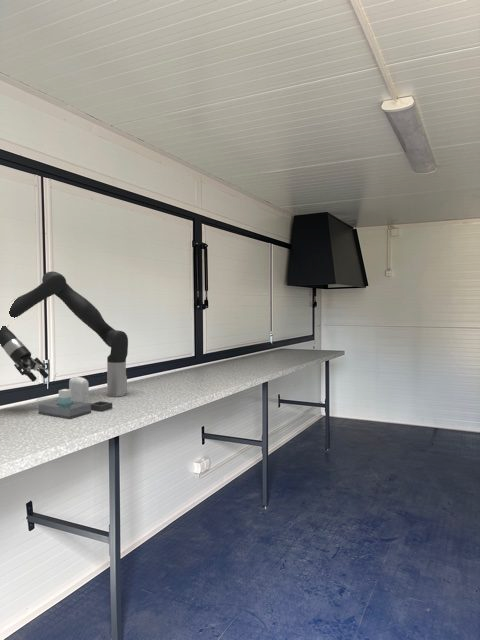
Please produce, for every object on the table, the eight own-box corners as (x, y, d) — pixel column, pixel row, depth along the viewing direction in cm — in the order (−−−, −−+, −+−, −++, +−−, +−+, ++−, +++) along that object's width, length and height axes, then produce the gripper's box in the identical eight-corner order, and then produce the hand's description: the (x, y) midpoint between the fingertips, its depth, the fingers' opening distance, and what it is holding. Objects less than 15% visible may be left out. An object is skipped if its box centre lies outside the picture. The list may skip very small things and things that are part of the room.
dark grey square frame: (100, 406, 209) (100, 401, 208) (112, 408, 206) (112, 402, 205) (88, 409, 202) (88, 404, 202) (101, 411, 199) (101, 405, 199)
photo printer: (90, 403, 214) (90, 377, 213) (82, 405, 210) (82, 378, 210) (74, 401, 219) (74, 375, 219) (67, 402, 215) (67, 376, 215)
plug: (64, 409, 198) (64, 388, 197) (71, 410, 196) (71, 389, 196) (58, 411, 194) (58, 390, 194) (64, 412, 193) (64, 391, 193)
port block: (60, 407, 205) (60, 399, 205) (91, 412, 197) (91, 403, 197) (38, 413, 194) (38, 404, 194) (69, 418, 186) (69, 409, 186)
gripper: (11, 346, 191) (36, 375, 189) (32, 343, 205) (56, 370, 203) (0, 359, 192) (25, 387, 190) (22, 355, 206) (45, 381, 204)
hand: (41, 378), depth 197 cm, fingers open, 8 cm apart
